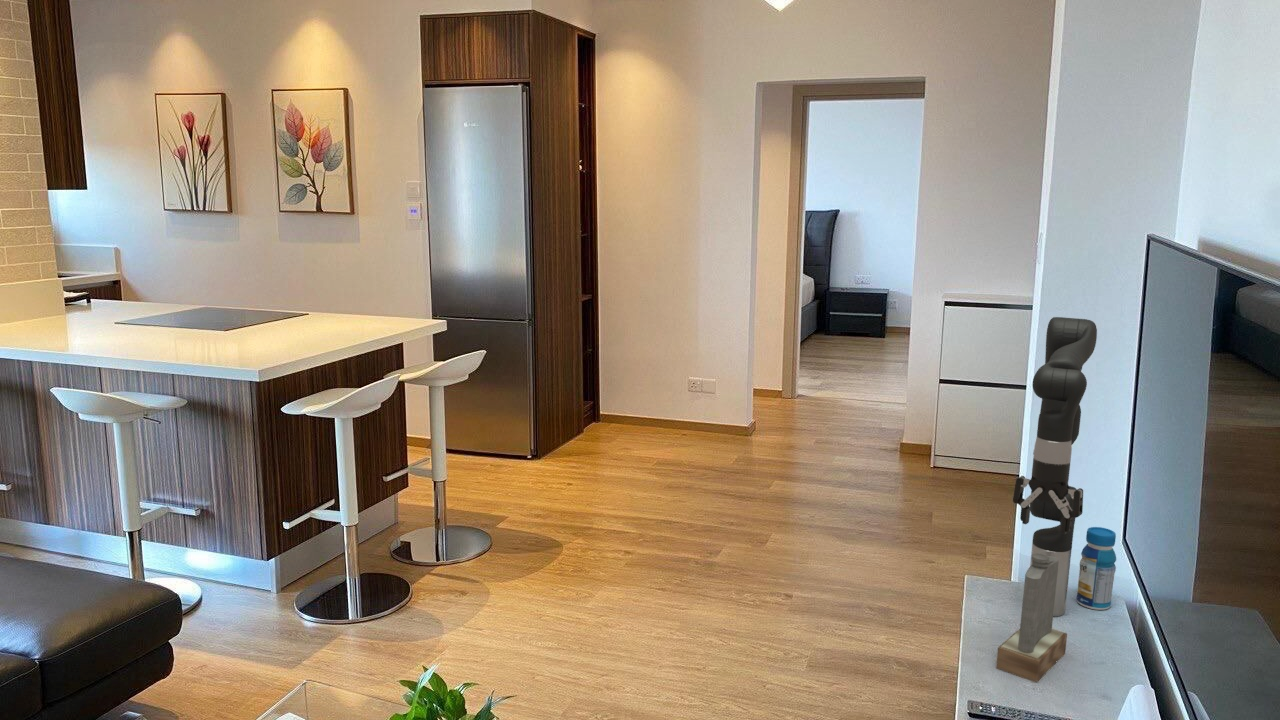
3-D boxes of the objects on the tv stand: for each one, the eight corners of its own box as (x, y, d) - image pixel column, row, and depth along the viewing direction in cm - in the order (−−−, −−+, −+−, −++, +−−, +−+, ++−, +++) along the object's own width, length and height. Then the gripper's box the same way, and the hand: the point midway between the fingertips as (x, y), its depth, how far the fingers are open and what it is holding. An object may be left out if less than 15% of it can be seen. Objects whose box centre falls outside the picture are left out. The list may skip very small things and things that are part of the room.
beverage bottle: (1109, 614, 244) (1117, 539, 240) (1073, 605, 248) (1081, 532, 244) (1113, 602, 251) (1121, 529, 247) (1078, 594, 255) (1086, 522, 251)
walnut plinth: (1026, 640, 228) (1028, 620, 227) (1065, 653, 222) (1067, 632, 222) (996, 668, 215) (998, 646, 214) (1036, 682, 209) (1039, 660, 208)
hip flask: (1030, 654, 211) (1039, 569, 207) (1011, 648, 213) (1020, 564, 209) (1053, 629, 223) (1061, 548, 219) (1035, 624, 225) (1043, 543, 222)
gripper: (1091, 461, 208) (1083, 531, 211) (1025, 448, 217) (1019, 516, 220) (1080, 468, 202) (1072, 541, 205) (1012, 454, 212) (1006, 524, 215)
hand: (1044, 528), depth 213 cm, fingers open, 8 cm apart
